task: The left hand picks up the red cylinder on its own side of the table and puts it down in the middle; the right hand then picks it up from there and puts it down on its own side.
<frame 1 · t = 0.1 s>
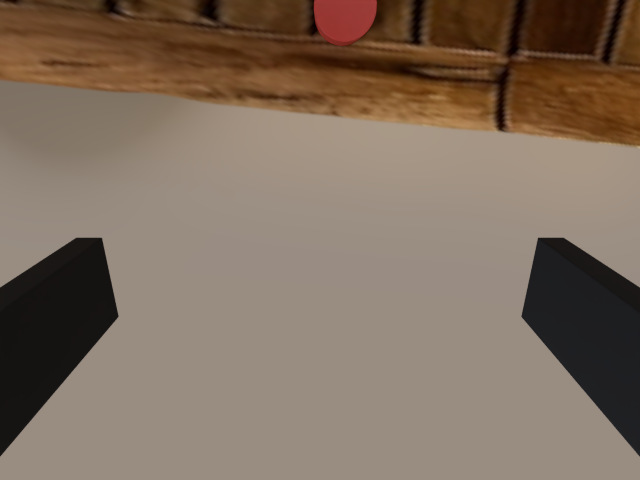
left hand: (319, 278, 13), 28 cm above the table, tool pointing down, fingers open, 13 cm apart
red cylinder: (342, 15, 34), on the table
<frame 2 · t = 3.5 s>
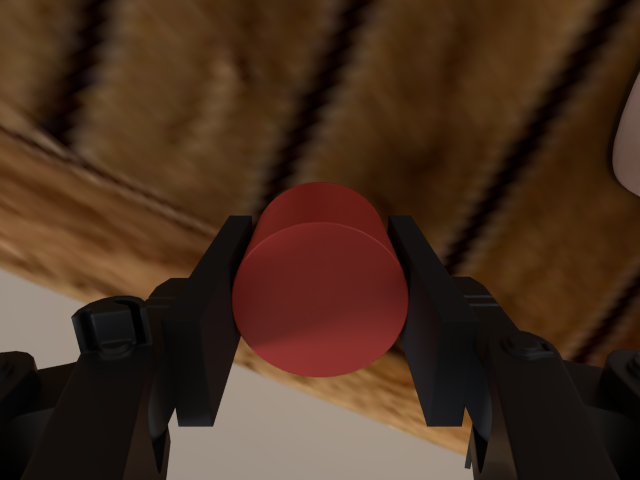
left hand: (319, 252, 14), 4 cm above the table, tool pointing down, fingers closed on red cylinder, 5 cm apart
red cylinder: (320, 246, 15), point 3 cm above the table, touching left hand
when the left hand's fingers open (0 cm above the table, at t = 10.1 s): red cylinder stays where it is, on the table.
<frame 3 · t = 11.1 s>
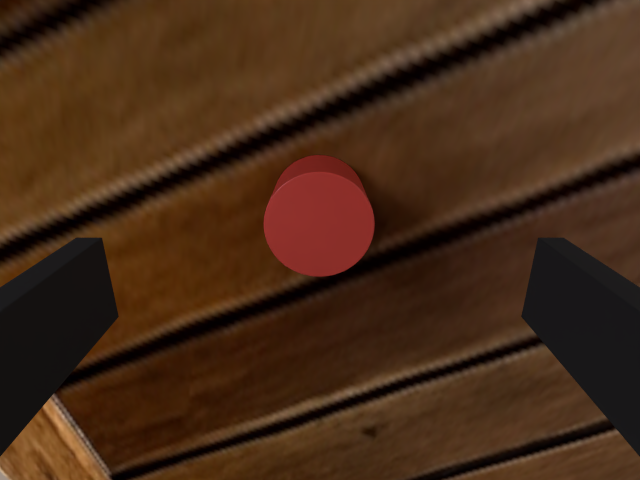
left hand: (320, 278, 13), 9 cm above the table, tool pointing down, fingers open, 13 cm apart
red cylinder: (319, 200, 21), on the table
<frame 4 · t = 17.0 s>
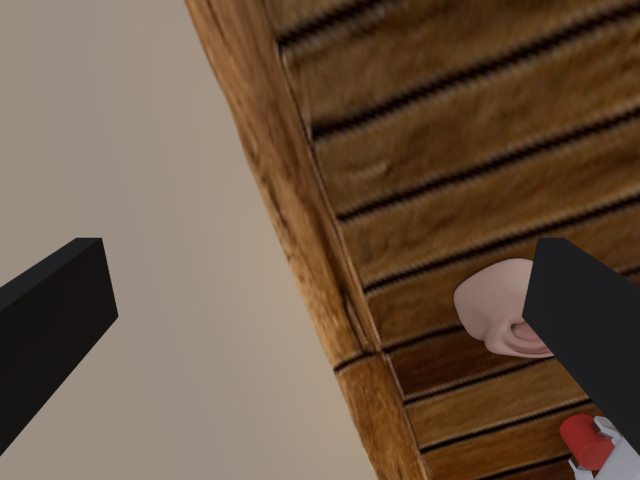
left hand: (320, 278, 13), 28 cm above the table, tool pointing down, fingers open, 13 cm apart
anatomical model: (513, 304, 45), on the table
red cylinder: (578, 428, 52), on the table, touching right hand
when the right hand's fingers open (2 cm above the table, at t = 22.2 s): red cylinder stays where it is, on the table.
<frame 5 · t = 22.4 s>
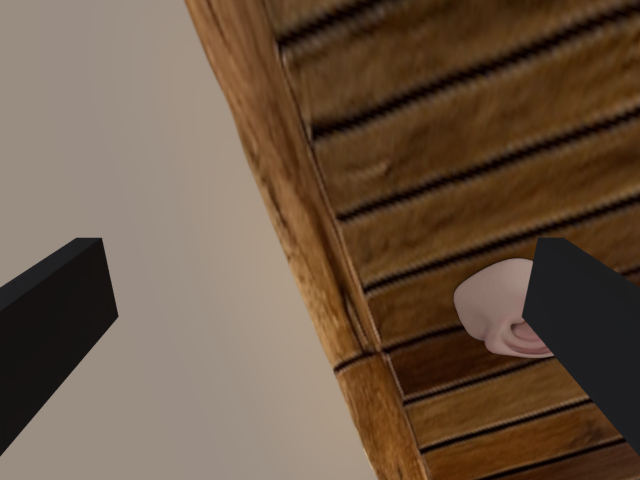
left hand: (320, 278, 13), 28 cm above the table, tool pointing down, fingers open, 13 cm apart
anatomical model: (513, 304, 45), on the table
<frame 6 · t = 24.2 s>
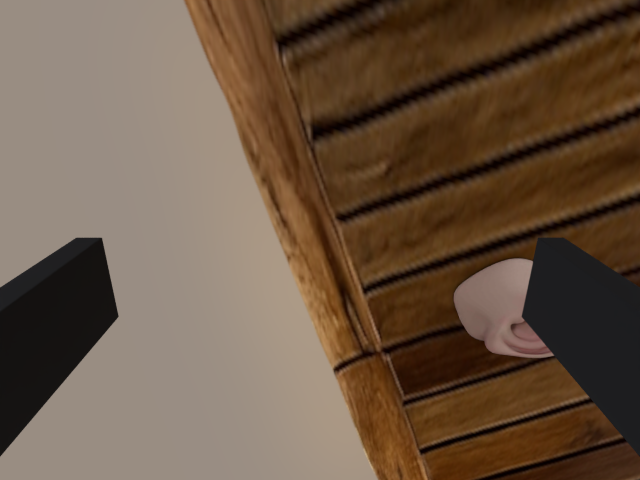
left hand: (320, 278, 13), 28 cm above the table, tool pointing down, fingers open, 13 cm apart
anatomical model: (513, 304, 45), on the table
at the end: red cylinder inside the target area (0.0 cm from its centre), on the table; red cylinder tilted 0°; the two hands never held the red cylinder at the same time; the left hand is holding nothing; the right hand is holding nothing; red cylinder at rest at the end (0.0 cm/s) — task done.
